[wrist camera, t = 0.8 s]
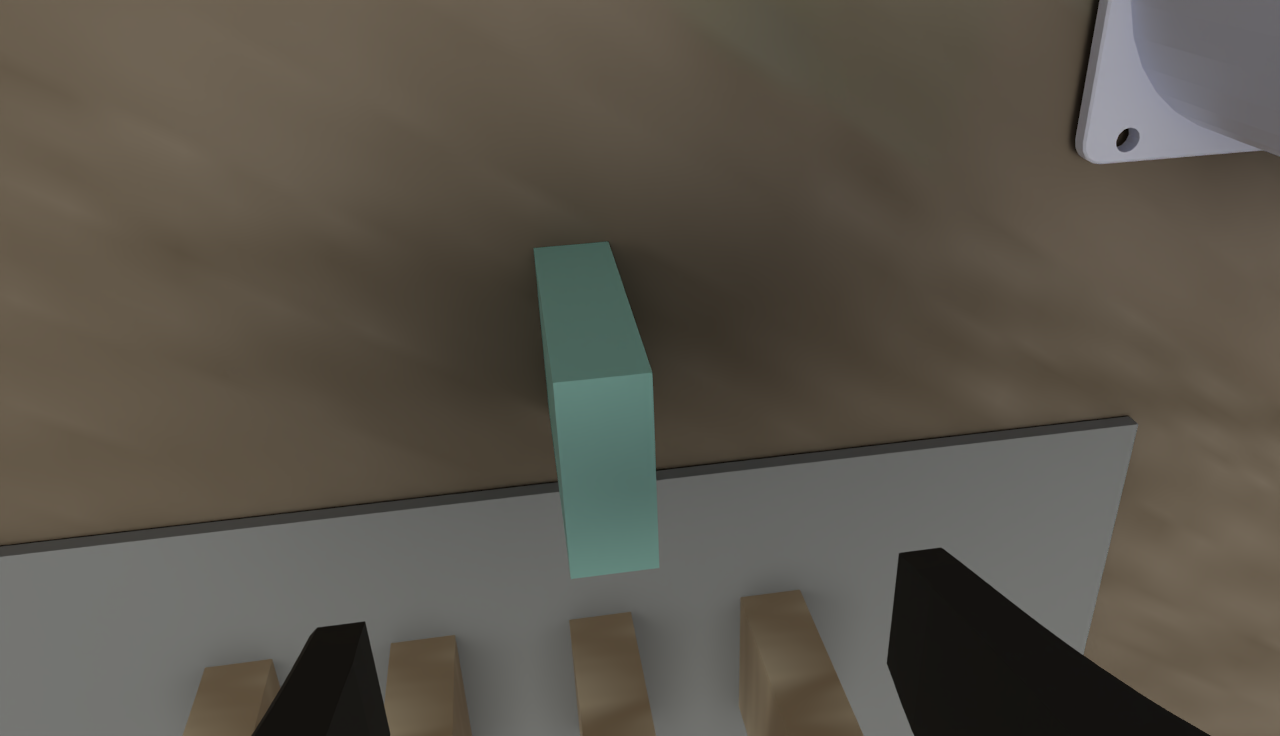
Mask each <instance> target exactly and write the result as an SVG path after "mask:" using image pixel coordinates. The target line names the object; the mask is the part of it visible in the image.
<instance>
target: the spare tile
mask: <svg viewBox="0 0 1280 736" xmlns="http://www.w3.org/2000/svg"><path fill="white" fill-rule="evenodd" d="M534 258H535V268H536V279H537V290H538V300H539V311H540V321H541V332H542V342H543V353H544V363H545V374H546V384H547V395H548V405H549V414H550V422H551V430H552V438H553V445H554V453H555V461H556V469H557V476H558V484H559V492H560V500H561V507H562V515H563V523H564V531H565V538H566V546H567V554H568V562H569V569H570V577H571V579H576V578H583V577H591V576H599V575H607V574H615V573H623V572H631V571H639V570H647V569H655V568H659V542H658V515H657V487H656V459H655V431H654V403H653V376H652V370H651V367H650V364H649V361H648V358H647V355H646V352H645V349H644V346H643V343H642V340H641V337H640V334H639V331H638V328H637V325H636V322H635V319H634V316H633V313H632V310H631V307H630V304H629V301H628V298H627V296H626V293H625V290H624V287H623V284H622V281H621V278H620V275H619V272H618V269H617V266H616V263H615V260H614V257H613V254H612V251H611V248H610V245H609V242H597V243H585V244H574V245H563V246H551V247H540V248H534Z"/></svg>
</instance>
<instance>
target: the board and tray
mask: <svg viewBox="0 0 1280 736" xmlns="http://www.w3.org/2000/svg"><path fill="white" fill-rule="evenodd" d="M1137 427H1138V424H1137V423H1136V422H1135V421H1134V420H1133V419H1132V418H1130V417H1129V416H1127V417H1119V418H1110V419H1101V420H1093V421H1084V422H1075V423H1067V424H1058V425H1049V426H1041V427H1032V428H1023V429H1015V430H1006V431H997V432H989V433H980V434H971V435H963V436H954V437H945V438H937V439H928V440H919V441H911V442H902V443H893V444H885V445H876V446H867V447H859V448H850V449H841V450H833V451H824V452H815V453H807V454H798V455H789V456H781V457H772V458H763V459H755V460H746V461H738V462H729V463H720V464H712V465H703V466H694V467H686V468H677V469H668V470H660V471H656V487H657V515H658V542H659V568H655V569H647V570H639V571H631V572H623V573H615V574H607V575H599V576H591V577H583V578H576V579H571V577H570V569H569V562H568V554H567V546H566V538H565V531H564V523H563V515H562V507H561V500H560V492H559V484H558V482H556V483H547V484H538V485H530V486H521V487H512V488H504V489H495V490H486V491H478V492H469V493H460V494H452V495H443V496H434V497H426V498H417V499H408V500H400V501H391V502H382V503H374V504H365V505H356V506H348V507H339V508H330V509H322V510H313V511H304V512H296V513H287V514H278V515H270V516H261V517H252V518H244V519H235V520H226V521H218V522H209V523H200V524H192V525H183V526H174V527H166V528H157V529H148V530H140V531H131V532H122V533H114V534H105V535H96V536H88V537H79V538H70V539H62V540H53V541H45V542H36V543H27V544H19V545H10V546H1V547H0V736H183V733H184V730H185V727H186V724H187V721H188V718H189V715H190V712H191V709H192V706H193V703H194V700H195V697H196V694H197V691H198V688H199V684H200V681H201V678H202V675H203V672H204V669H205V668H206V667H214V666H222V665H229V664H237V663H245V662H252V661H260V660H267V659H272V661H273V664H274V668H275V671H276V674H277V678H278V681H279V685H280V688H281V686H282V685H283V683H284V681H285V680H286V678H287V676H288V674H289V673H290V671H291V669H292V667H293V665H294V664H295V662H296V660H297V658H298V656H299V655H300V653H301V651H302V649H303V647H304V645H305V644H306V642H307V640H308V638H309V636H310V635H311V634H312V633H313V632H314V630H315V629H316V628H317V627H325V626H332V625H340V624H348V623H356V622H364V621H365V622H366V627H367V631H368V636H369V640H370V645H371V649H372V653H373V658H374V662H375V667H376V671H377V676H378V680H379V685H380V689H381V694H382V698H383V703H384V702H385V693H386V684H387V674H388V665H389V656H390V646H391V643H397V642H404V641H412V640H420V639H427V638H435V637H443V636H450V635H455V637H456V643H457V649H458V655H459V661H460V667H461V673H462V679H463V685H464V691H465V697H466V703H467V708H468V714H469V720H470V726H471V732H472V736H580V729H579V719H578V708H577V697H576V687H575V676H574V666H573V655H572V645H571V634H570V624H569V620H572V619H580V618H587V617H595V616H602V615H610V614H618V613H625V612H631V615H632V620H633V625H634V630H635V635H636V640H637V644H638V649H639V654H640V659H641V664H642V669H643V674H644V679H645V684H646V689H647V694H648V699H649V704H650V708H651V713H652V718H653V723H654V728H655V733H656V736H748V735H747V732H746V728H745V725H744V722H743V718H742V715H741V712H740V709H739V668H740V598H741V597H747V596H755V595H762V594H770V593H778V592H785V591H793V590H800V591H801V593H802V596H803V598H804V600H805V603H806V605H807V607H808V609H809V612H810V614H811V616H812V619H813V621H814V623H815V625H816V628H817V630H818V632H819V635H820V637H821V639H822V641H823V644H824V646H825V648H826V651H827V653H828V655H829V657H830V660H831V662H832V664H833V667H834V669H835V671H836V673H837V676H838V678H839V680H840V683H841V685H842V687H843V689H844V692H845V694H846V696H847V699H848V701H849V703H850V705H851V708H852V710H853V712H854V715H855V717H856V719H857V721H858V724H859V726H860V728H861V731H862V733H863V735H864V736H914V734H913V732H912V730H911V727H910V725H909V722H908V720H907V717H906V714H905V712H904V709H903V707H902V704H901V702H900V699H899V696H898V693H897V690H896V688H895V685H894V682H893V679H892V677H891V674H890V671H889V668H888V665H887V656H888V647H889V638H890V629H891V620H892V611H893V602H894V593H895V584H896V575H897V566H898V557H899V553H902V552H909V551H917V550H925V549H933V548H943V549H944V550H946V551H947V552H948V553H950V554H951V555H952V556H953V557H955V558H956V559H957V560H959V561H960V562H961V563H963V564H964V565H965V566H966V567H968V568H969V569H970V570H971V571H973V572H974V573H975V574H977V575H978V576H979V577H980V578H982V579H983V580H984V581H985V582H987V583H988V584H989V585H991V586H992V587H993V588H994V589H996V590H997V591H998V592H999V593H1001V594H1002V595H1003V596H1005V597H1006V598H1007V599H1008V600H1010V601H1011V602H1012V603H1014V604H1015V605H1016V606H1017V607H1019V608H1020V609H1021V610H1023V611H1024V612H1025V613H1027V614H1028V615H1029V616H1031V617H1032V618H1033V619H1034V620H1036V621H1037V622H1038V623H1040V624H1041V625H1042V626H1044V627H1045V628H1046V629H1048V630H1049V631H1050V632H1052V633H1053V634H1054V635H1056V636H1057V637H1059V638H1060V639H1061V640H1063V641H1064V642H1065V643H1067V644H1068V645H1070V646H1071V647H1072V648H1074V649H1075V650H1077V651H1078V652H1079V653H1081V654H1082V655H1083V654H1084V650H1085V646H1086V641H1087V637H1088V633H1089V629H1090V625H1091V620H1092V616H1093V612H1094V608H1095V604H1096V599H1097V595H1098V591H1099V587H1100V583H1101V578H1102V574H1103V570H1104V566H1105V562H1106V558H1107V553H1108V549H1109V545H1110V541H1111V537H1112V532H1113V528H1114V524H1115V520H1116V516H1117V511H1118V507H1119V503H1120V499H1121V495H1122V490H1123V486H1124V482H1125V478H1126V474H1127V469H1128V465H1129V461H1130V457H1131V453H1132V448H1133V444H1134V440H1135V436H1136V432H1137Z"/></svg>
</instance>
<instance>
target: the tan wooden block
mask: <svg viewBox="0 0 1280 736" xmlns="http://www.w3.org/2000/svg"><path fill="white" fill-rule="evenodd" d="M569 624H570V634H571V645H572V655H573V666H574V676H575V687H576V697H577V708H578V719H579V729H580V736H656V733H655V728H654V723H653V718H652V713H651V708H650V704H649V699H648V694H647V689H646V684H645V679H644V674H643V669H642V664H641V659H640V654H639V649H638V644H637V640H636V635H635V630H634V625H633V620H632V615H631V612H625V613H618V614H610V615H602V616H595V617H587V618H580V619H572V620H569Z"/></svg>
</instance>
